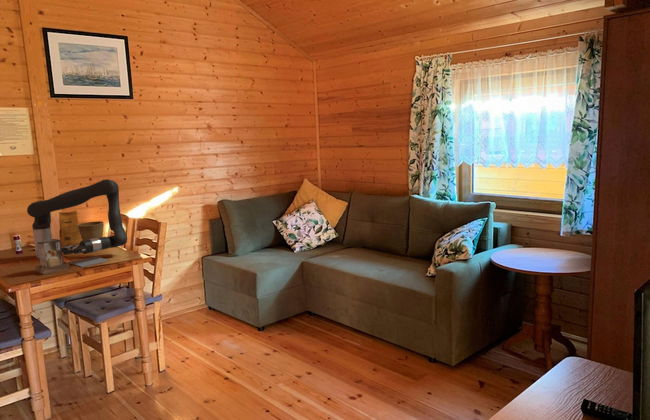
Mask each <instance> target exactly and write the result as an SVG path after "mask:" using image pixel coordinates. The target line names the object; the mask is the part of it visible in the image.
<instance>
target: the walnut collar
mask: <svg viewBox="0 0 650 420" xmlns="http://www.w3.org/2000/svg"><path fill="white" fill-rule="evenodd" d="M70 269H71V267H70V263H69V262H66V261H64V264H62V265H57V266H53V267H48V268H42V267H41V264H39V265H35V272H36V273H38V274H41V275H49V274H54V273H57V272H61V271H66V270H67V271H68V270H70Z"/></svg>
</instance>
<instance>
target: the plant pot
mask: <svg viewBox="0 0 650 420" xmlns="http://www.w3.org/2000/svg"><path fill="white" fill-rule="evenodd" d="M104 225H105V224H104V221H101V220H98V221H97V220H96V221H87V222H83V223H79V224H78V225H77V226H78V229H79V232H80V236H81V241H83V240H88V239H93V238H101V237H104Z"/></svg>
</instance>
